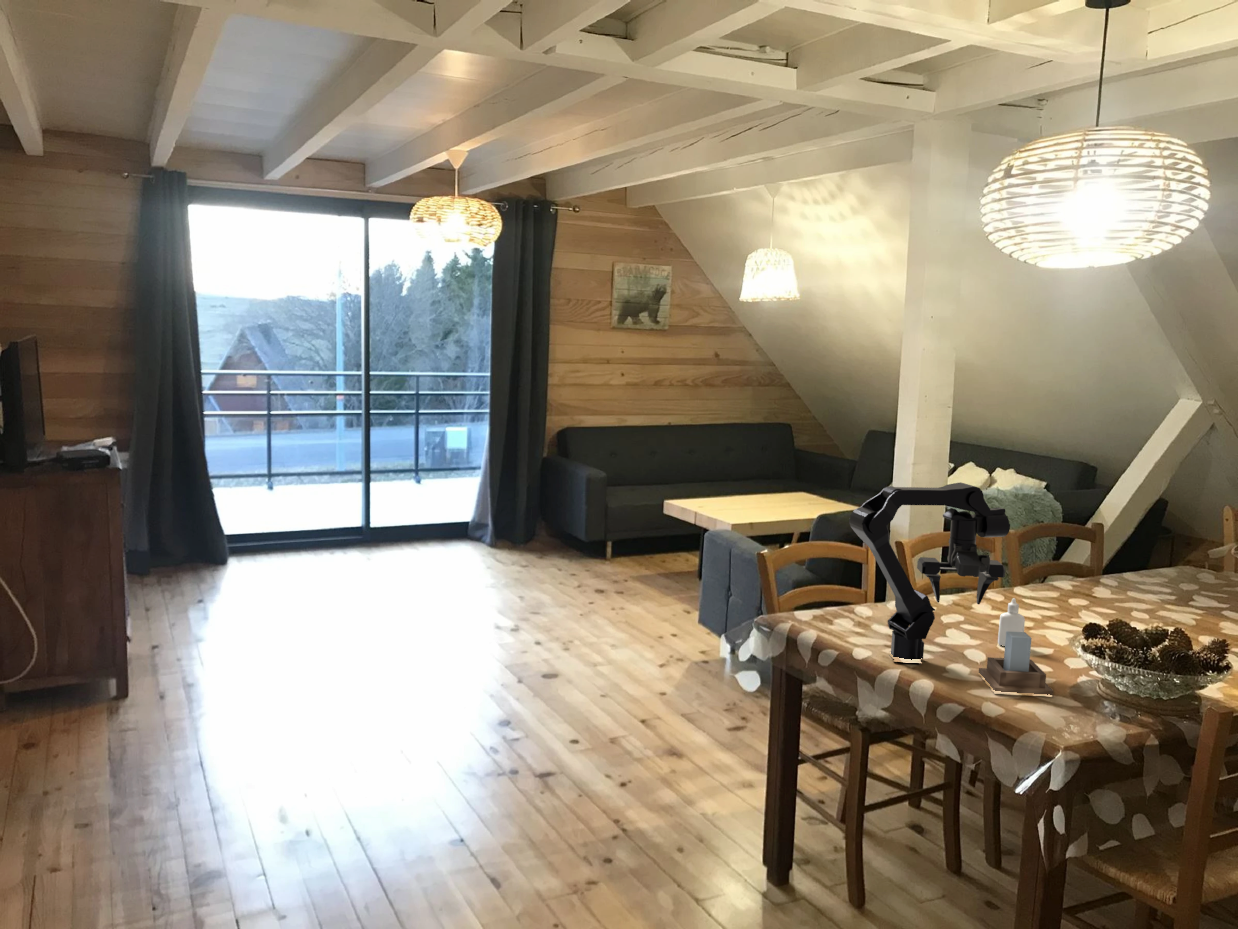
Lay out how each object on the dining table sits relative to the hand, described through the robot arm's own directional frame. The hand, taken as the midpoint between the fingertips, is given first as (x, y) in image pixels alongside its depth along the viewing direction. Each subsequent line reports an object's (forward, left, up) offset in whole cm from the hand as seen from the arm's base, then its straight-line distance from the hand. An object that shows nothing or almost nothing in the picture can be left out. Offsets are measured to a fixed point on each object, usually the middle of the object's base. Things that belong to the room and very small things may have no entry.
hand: (957, 603), depth 227 cm
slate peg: (+8, -18, -12) cm, 23 cm away
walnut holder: (+8, -18, -13) cm, 23 cm away
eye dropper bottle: (+16, +10, -13) cm, 23 cm away
